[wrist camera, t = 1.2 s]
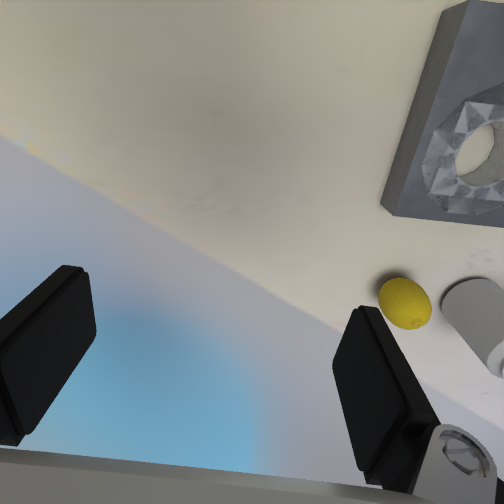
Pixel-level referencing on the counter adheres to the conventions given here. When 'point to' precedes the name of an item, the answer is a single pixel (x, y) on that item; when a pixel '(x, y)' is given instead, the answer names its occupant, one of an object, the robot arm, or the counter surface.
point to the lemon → (404, 303)
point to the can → (479, 320)
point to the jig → (454, 123)
